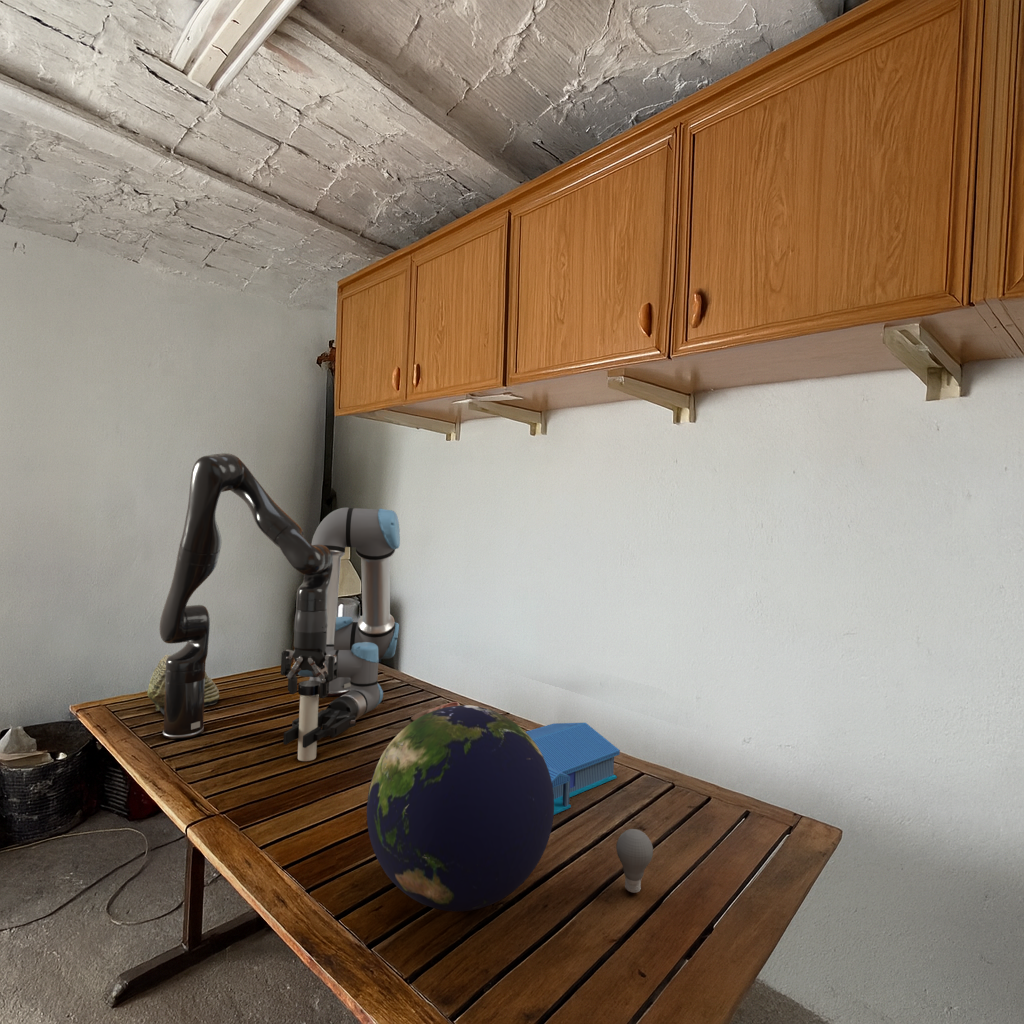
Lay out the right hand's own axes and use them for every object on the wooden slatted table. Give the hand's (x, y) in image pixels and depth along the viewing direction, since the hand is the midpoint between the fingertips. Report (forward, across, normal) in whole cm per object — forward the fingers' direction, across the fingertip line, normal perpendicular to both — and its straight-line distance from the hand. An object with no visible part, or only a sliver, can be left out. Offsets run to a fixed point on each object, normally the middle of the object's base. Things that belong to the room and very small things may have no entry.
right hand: (294, 740), depth 148 cm
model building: (-9, -55, -6) cm, 56 cm away
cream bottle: (-5, 0, -6) cm, 8 cm away
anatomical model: (-42, -18, -6) cm, 46 cm away
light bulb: (+22, -80, -6) cm, 83 cm away
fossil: (-24, +53, -6) cm, 59 cm away
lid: (-5, 0, +12) cm, 13 cm away
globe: (+33, -53, -6) cm, 62 cm away
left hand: (-5, 0, +9) cm, 10 cm away
